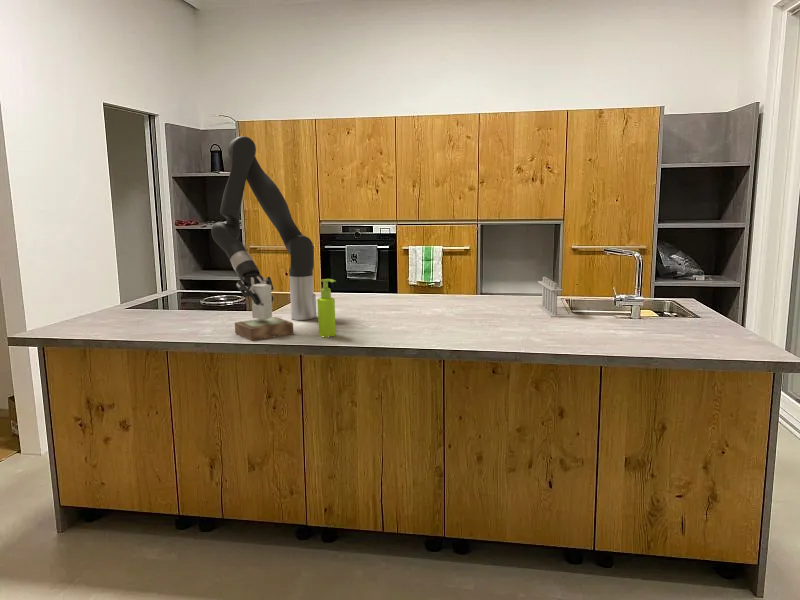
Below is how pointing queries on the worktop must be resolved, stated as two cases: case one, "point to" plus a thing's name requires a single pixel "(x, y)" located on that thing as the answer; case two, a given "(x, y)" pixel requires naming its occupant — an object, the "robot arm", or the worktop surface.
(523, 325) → the worktop surface
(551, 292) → the test tube rack
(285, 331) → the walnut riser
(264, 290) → the skincare box
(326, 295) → the soap dispenser
